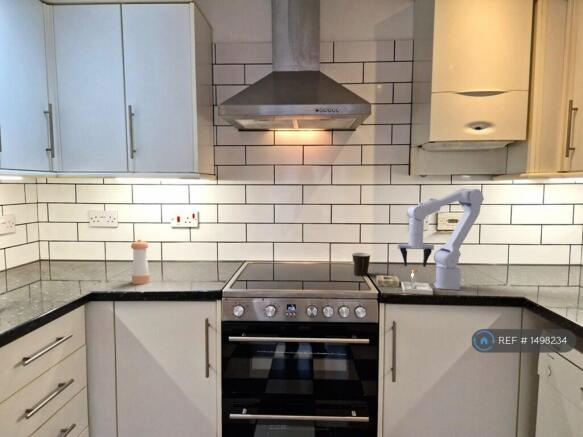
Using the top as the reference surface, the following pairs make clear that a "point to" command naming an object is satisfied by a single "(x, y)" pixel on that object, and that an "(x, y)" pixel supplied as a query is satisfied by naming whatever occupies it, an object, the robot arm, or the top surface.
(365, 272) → the coffee mug
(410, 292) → the tray
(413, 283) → the pin
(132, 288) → the top surface
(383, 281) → the block
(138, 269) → the pepper shaker
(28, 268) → the top surface
